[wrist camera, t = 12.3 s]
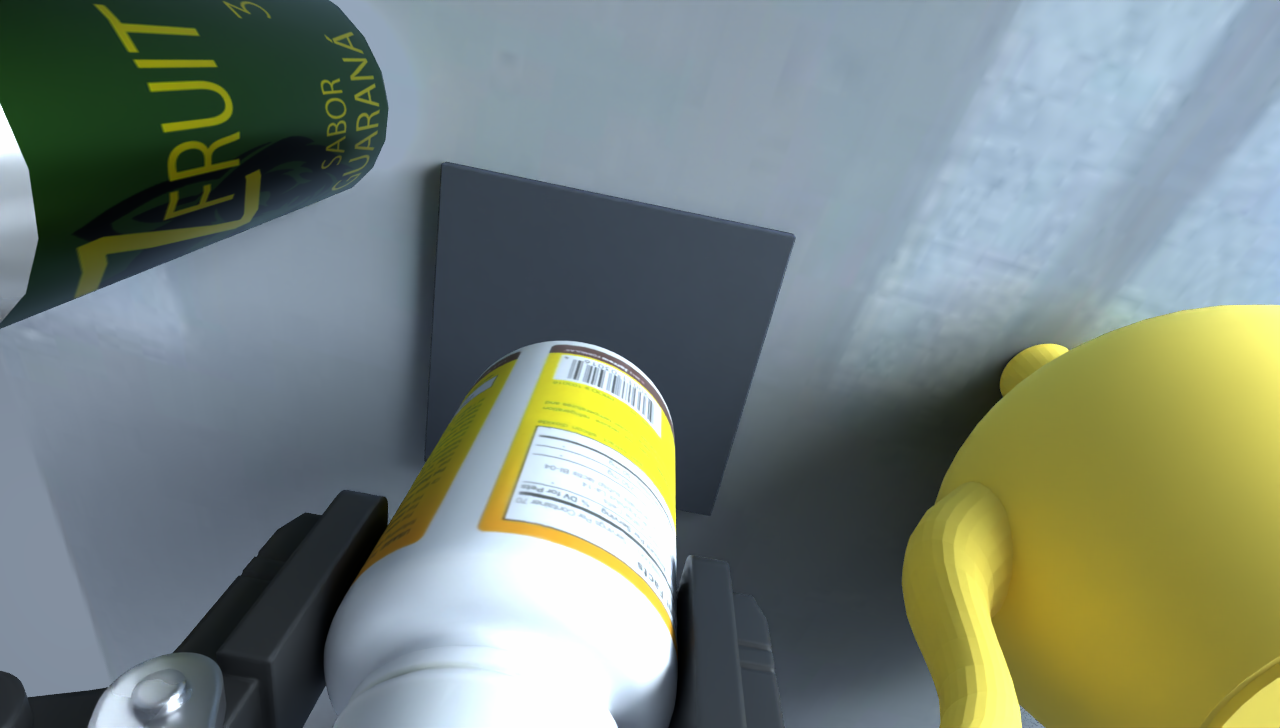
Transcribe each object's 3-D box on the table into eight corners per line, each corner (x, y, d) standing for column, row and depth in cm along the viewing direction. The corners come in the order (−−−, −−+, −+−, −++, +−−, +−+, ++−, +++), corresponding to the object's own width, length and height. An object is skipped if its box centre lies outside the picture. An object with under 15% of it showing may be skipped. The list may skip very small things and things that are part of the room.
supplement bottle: (492, 517, 18) (309, 973, 9) (446, 340, 16) (140, 717, 7) (685, 505, 18) (695, 977, 9) (667, 322, 16) (654, 701, 6)
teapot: (764, 626, 25) (828, 1033, 14) (821, 251, 18) (1010, 498, 8) (1297, 657, 24) (1764, 1106, 14) (1549, 279, 18) (2771, 589, 7)
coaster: (428, 455, 22) (424, 462, 22) (445, 161, 18) (440, 163, 18) (710, 509, 23) (710, 516, 22) (794, 233, 18) (796, 237, 18)
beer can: (218, 182, 18) (-431, 358, 8) (181, -36, 16) (-829, -226, 5) (404, 205, 18) (19, 414, 8) (394, -10, 16) (-181, -146, 5)
